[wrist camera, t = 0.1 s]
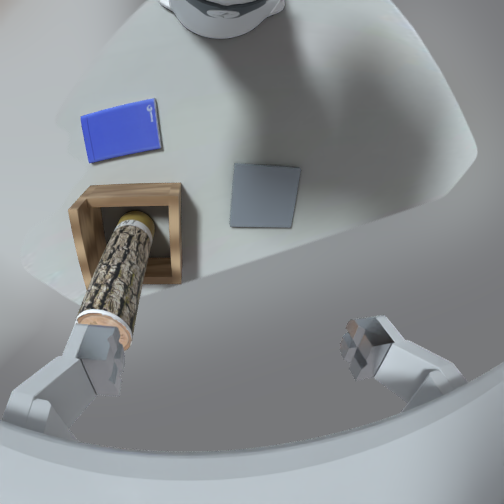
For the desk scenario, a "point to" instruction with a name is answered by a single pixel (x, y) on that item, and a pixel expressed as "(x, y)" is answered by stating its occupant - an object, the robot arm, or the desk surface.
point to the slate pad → (263, 195)
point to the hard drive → (121, 130)
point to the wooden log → (119, 277)
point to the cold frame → (116, 195)
